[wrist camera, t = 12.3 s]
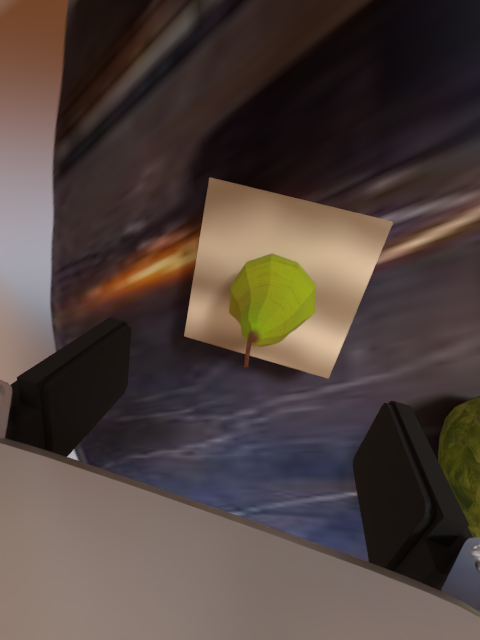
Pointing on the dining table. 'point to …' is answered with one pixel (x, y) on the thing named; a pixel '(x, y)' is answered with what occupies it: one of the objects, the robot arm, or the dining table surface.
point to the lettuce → (463, 458)
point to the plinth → (291, 243)
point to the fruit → (271, 300)
